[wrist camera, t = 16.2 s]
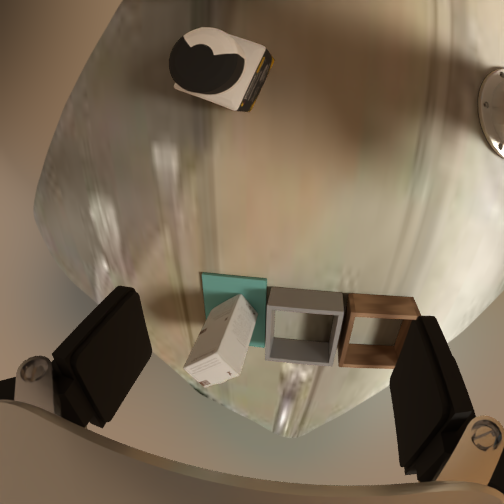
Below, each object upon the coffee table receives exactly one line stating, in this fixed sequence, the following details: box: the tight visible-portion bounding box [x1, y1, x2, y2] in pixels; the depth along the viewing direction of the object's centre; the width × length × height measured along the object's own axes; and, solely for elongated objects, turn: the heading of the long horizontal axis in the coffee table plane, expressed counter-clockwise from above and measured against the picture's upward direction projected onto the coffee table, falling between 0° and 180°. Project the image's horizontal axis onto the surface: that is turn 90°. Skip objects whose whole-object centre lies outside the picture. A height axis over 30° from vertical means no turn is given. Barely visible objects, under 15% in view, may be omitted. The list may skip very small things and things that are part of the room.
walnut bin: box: [338, 293, 421, 369], centre depth 39 cm, size 10×10×4 cm
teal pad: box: [202, 272, 267, 348], centre depth 45 cm, size 9×12×1 cm
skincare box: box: [183, 294, 258, 387], centre depth 39 cm, size 6×4×12 cm
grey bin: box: [265, 287, 344, 366], centre depth 41 cm, size 10×10×4 cm
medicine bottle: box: [169, 27, 274, 112], centre depth 26 cm, size 7×7×12 cm
